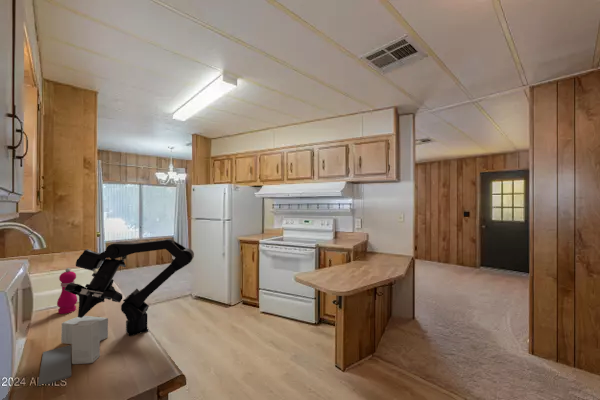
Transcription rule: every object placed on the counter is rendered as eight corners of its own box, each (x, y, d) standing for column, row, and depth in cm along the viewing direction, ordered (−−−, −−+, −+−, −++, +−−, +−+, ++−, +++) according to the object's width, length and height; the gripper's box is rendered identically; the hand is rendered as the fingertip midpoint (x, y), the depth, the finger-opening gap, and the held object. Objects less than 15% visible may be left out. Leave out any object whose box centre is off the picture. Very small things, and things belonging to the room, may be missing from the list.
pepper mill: (61, 309, 128) (62, 267, 129) (80, 307, 131) (80, 266, 131) (53, 315, 122) (54, 270, 122) (72, 313, 124) (73, 269, 124)
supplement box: (60, 343, 97) (89, 347, 94) (61, 322, 97) (89, 325, 94) (81, 334, 104) (108, 337, 101) (81, 314, 104) (108, 317, 102)
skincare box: (100, 356, 89) (101, 319, 89) (91, 364, 84) (91, 325, 84) (80, 357, 88) (80, 319, 88) (69, 365, 84) (70, 325, 84)
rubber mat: (70, 346, 95) (70, 344, 95) (71, 376, 78) (71, 374, 78) (43, 353, 90) (43, 351, 90) (37, 387, 74) (37, 385, 74)
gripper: (138, 284, 108) (117, 326, 100) (95, 277, 110) (70, 318, 101) (124, 275, 99) (99, 320, 90) (77, 267, 101) (48, 310, 92)
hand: (79, 317), depth 94 cm, fingers closed
